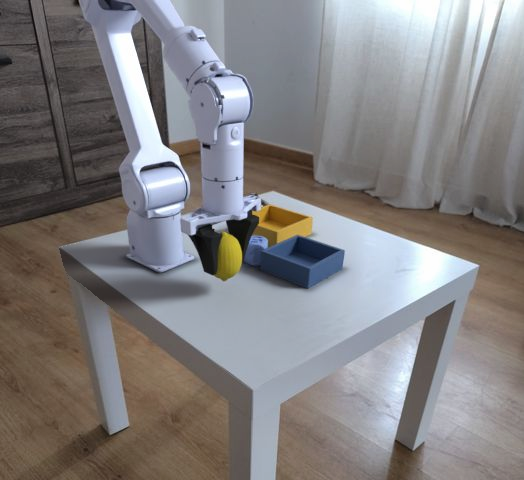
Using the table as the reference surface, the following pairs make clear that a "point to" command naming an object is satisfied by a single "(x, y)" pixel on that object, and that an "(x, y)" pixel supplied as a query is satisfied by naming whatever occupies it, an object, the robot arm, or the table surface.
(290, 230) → the yellow bin
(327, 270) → the blue bin
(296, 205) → the table surface
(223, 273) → the lemon
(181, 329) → the table surface
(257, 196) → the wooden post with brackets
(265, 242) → the light blue short cylinder
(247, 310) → the table surface
